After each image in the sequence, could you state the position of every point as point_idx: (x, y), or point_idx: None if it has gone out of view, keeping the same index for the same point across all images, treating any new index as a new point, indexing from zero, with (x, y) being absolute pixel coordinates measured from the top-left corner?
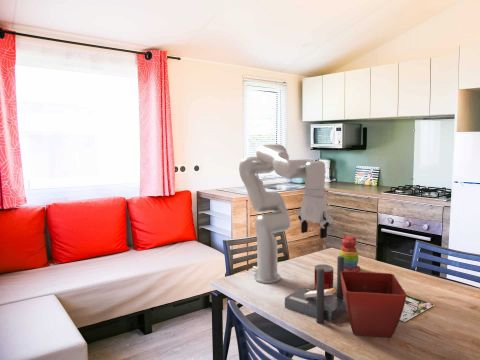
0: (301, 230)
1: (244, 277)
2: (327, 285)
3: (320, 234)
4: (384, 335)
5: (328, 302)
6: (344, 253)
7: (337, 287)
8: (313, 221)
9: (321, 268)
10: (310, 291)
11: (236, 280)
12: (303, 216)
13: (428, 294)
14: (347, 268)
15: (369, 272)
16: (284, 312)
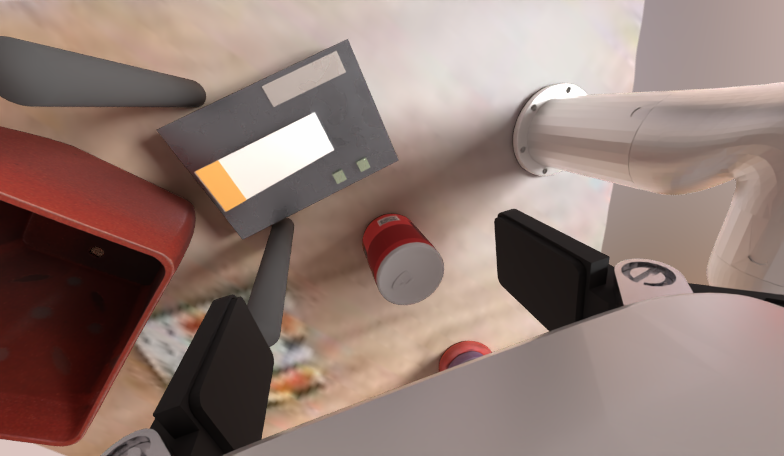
0: (525, 217)
1: (603, 63)
2: (368, 246)
3: (216, 323)
4: (17, 224)
5: None
6: None
7: (278, 242)
8: (268, 452)
9: (45, 96)
10: (323, 148)
11: (604, 18)
12: (746, 372)
13: None
14: (455, 359)
15: (112, 373)
16: (309, 18)
